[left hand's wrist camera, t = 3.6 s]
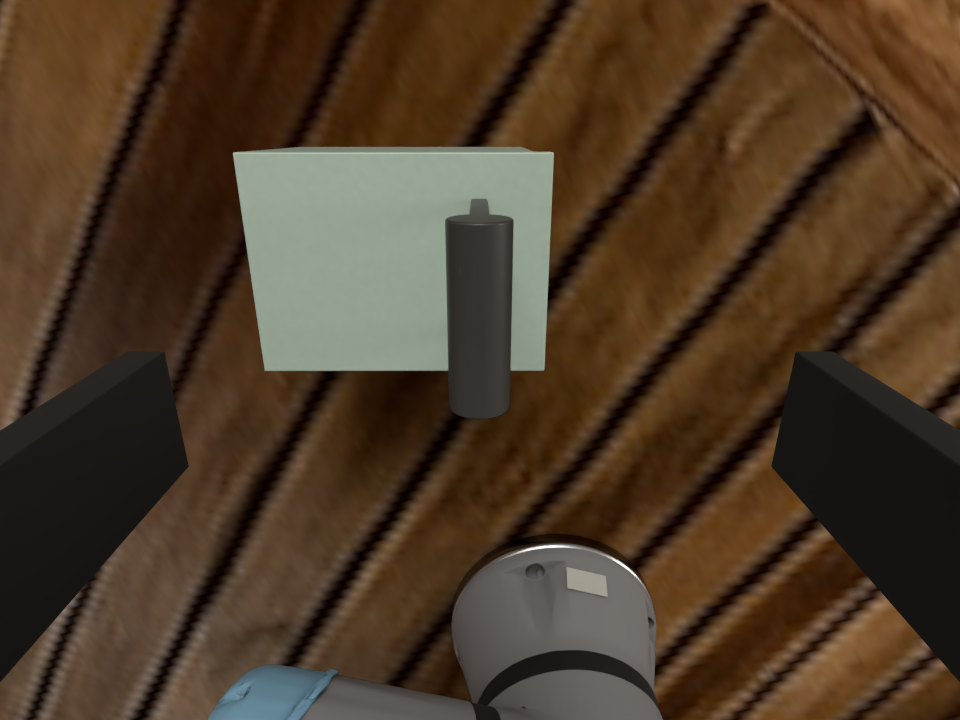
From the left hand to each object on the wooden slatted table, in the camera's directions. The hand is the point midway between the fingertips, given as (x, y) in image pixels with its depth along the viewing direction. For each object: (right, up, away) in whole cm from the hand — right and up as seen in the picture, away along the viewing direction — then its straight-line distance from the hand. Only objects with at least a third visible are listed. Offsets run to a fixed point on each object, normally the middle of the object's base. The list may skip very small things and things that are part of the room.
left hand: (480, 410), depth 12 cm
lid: (-4, +5, +14) cm, 15 cm away
